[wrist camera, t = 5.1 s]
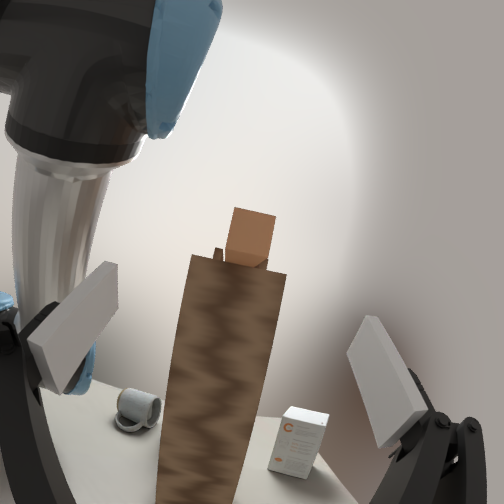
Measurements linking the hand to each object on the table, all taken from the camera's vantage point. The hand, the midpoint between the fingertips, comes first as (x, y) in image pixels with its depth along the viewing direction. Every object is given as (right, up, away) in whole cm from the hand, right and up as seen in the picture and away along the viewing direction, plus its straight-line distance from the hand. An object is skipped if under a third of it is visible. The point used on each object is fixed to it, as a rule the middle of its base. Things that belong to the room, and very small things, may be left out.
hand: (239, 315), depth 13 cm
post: (-8, -34, +15) cm, 38 cm away
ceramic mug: (-24, -34, +33) cm, 53 cm away
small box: (+8, -39, +28) cm, 49 cm away
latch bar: (-1, +2, +17) cm, 18 cm away
